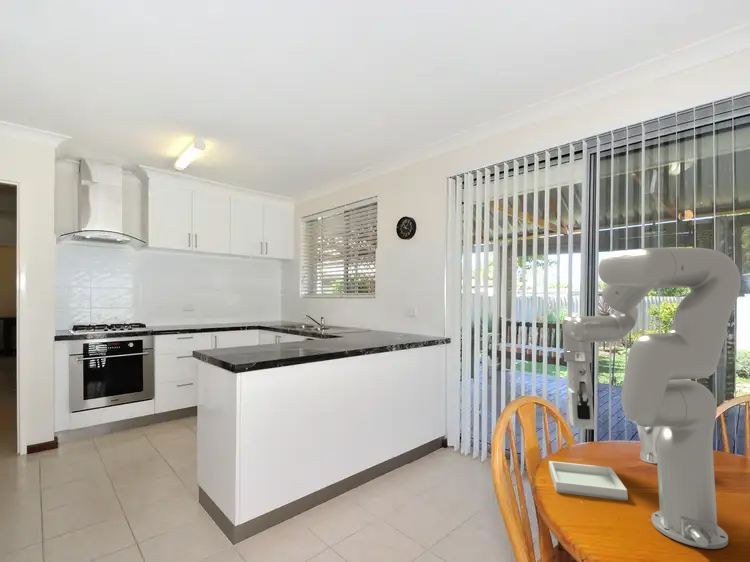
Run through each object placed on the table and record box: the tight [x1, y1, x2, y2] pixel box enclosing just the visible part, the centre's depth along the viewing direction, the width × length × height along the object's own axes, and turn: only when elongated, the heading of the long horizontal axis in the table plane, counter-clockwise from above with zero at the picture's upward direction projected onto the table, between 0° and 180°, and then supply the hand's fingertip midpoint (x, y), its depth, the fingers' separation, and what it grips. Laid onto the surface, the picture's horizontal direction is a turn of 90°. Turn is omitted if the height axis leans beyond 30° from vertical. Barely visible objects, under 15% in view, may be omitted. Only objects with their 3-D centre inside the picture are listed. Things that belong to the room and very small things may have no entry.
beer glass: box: [636, 424, 660, 465], centre depth 119 cm, size 7×7×15 cm
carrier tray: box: [548, 460, 629, 502], centre depth 104 cm, size 14×16×2 cm
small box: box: [567, 387, 595, 430], centre depth 118 cm, size 8×6×10 cm
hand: (580, 415), depth 118 cm, fingers closed on small box, 8 cm apart
